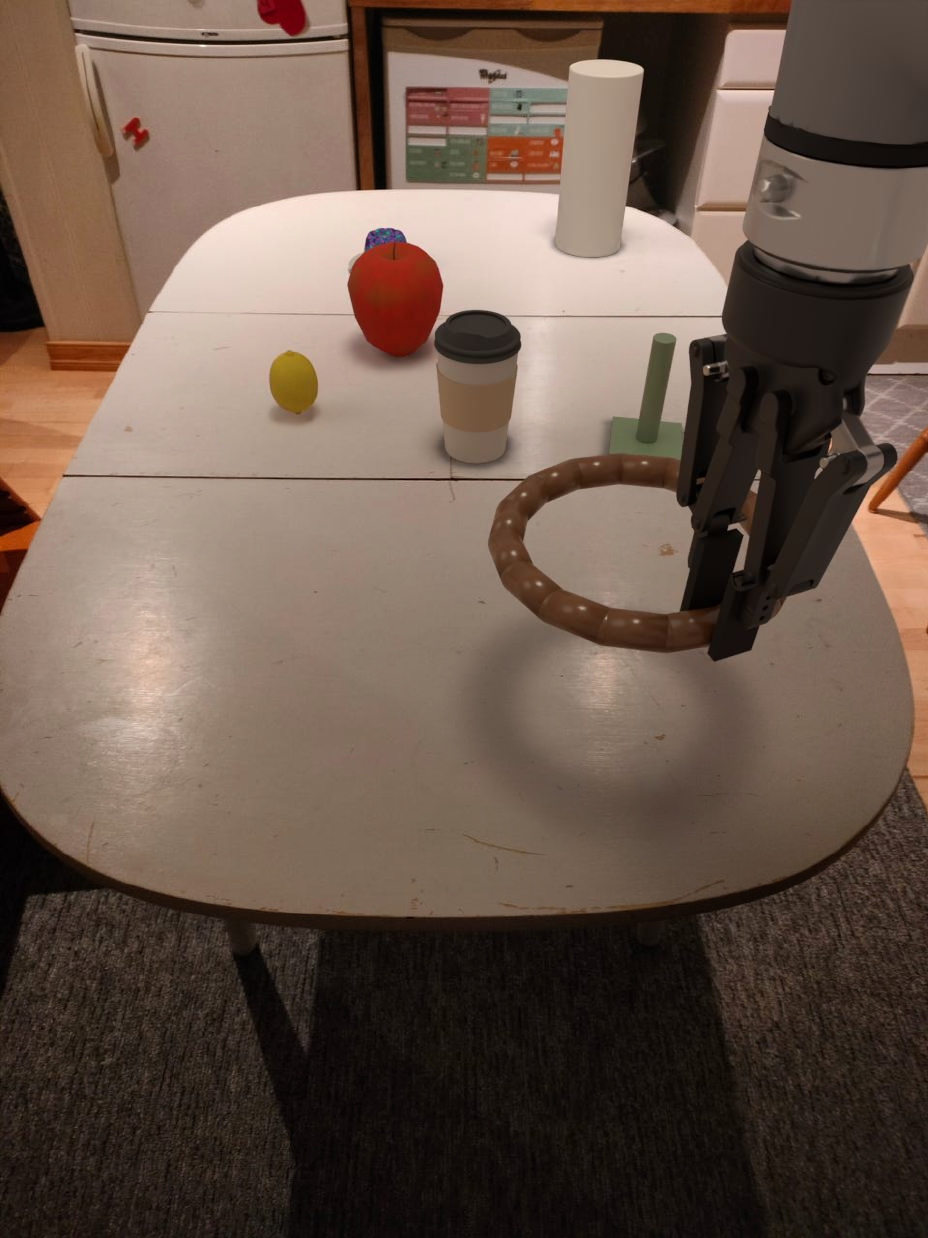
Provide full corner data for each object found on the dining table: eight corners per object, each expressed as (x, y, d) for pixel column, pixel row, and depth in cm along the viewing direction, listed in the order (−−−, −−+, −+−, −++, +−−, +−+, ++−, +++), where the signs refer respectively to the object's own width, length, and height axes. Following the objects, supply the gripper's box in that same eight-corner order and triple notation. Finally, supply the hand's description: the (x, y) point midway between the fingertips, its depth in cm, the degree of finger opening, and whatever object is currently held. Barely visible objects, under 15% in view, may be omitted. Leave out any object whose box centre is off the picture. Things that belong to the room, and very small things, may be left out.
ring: (777, 488, 66) (784, 461, 64) (808, 678, 51) (819, 650, 49) (511, 463, 69) (512, 437, 67) (466, 637, 53) (465, 609, 52)
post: (680, 430, 99) (703, 324, 90) (680, 468, 93) (705, 359, 84) (611, 423, 100) (627, 317, 91) (607, 460, 94) (624, 351, 85)
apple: (368, 325, 118) (360, 219, 108) (452, 333, 116) (452, 227, 106) (341, 367, 109) (330, 256, 99) (431, 377, 107) (429, 265, 98)
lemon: (322, 423, 99) (314, 360, 94) (274, 427, 99) (264, 364, 93) (320, 399, 103) (312, 337, 98) (274, 403, 103) (264, 341, 97)
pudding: (332, 271, 131) (329, 236, 127) (381, 247, 138) (379, 213, 134) (393, 290, 126) (392, 255, 122) (441, 264, 133) (440, 230, 129)
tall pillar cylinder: (602, 262, 134) (624, 79, 117) (543, 247, 138) (556, 69, 121) (630, 241, 141) (655, 65, 123) (573, 227, 145) (590, 55, 127)
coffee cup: (449, 420, 100) (449, 295, 90) (523, 432, 98) (532, 307, 88) (425, 461, 94) (421, 332, 83) (503, 475, 92) (510, 345, 82)
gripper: (657, 203, 41) (600, 572, 57) (885, 341, 30) (736, 745, 47) (785, 185, 43) (695, 546, 59) (1040, 309, 32) (846, 706, 49)
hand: (713, 633), depth 53 cm, fingers closed on ring, 3 cm apart
